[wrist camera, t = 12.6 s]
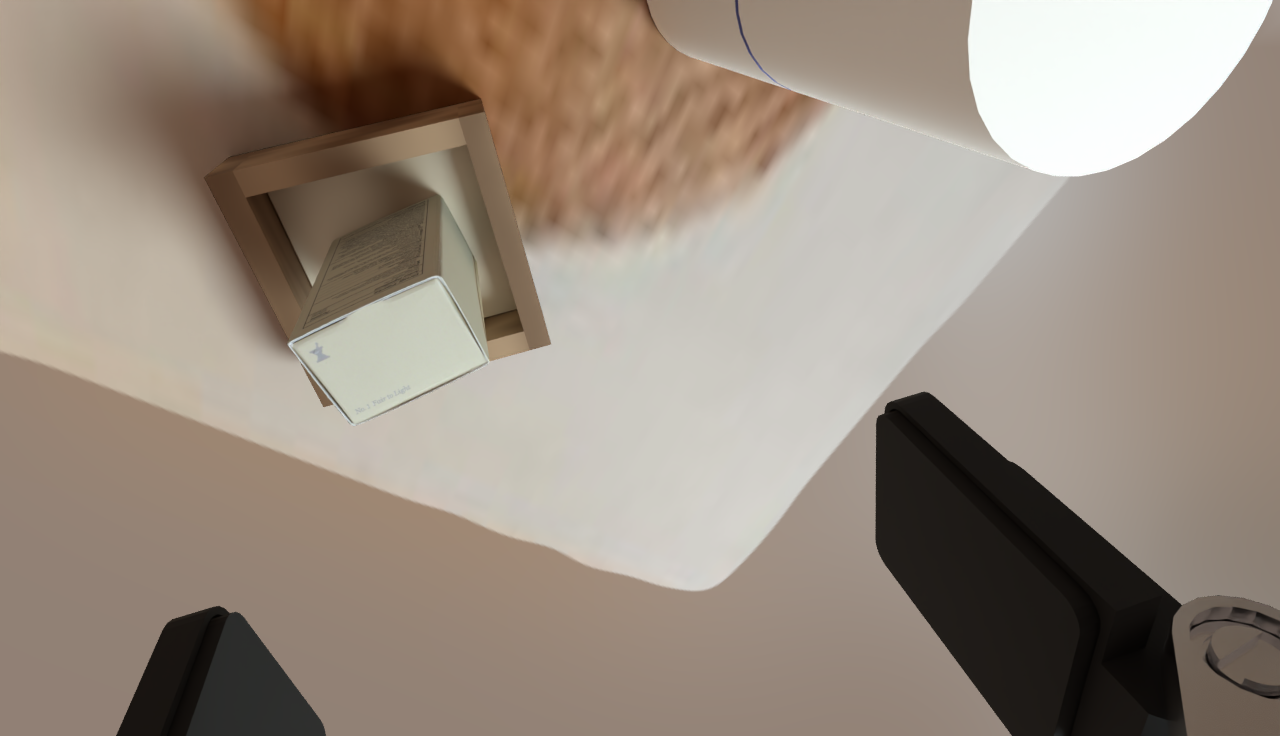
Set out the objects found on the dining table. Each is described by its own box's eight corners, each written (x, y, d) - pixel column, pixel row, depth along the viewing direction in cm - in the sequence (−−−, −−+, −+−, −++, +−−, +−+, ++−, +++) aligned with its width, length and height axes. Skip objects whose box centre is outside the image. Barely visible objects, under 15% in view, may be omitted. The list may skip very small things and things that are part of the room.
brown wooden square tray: (481, 98, 34) (484, 111, 31) (542, 314, 41) (550, 344, 38) (229, 157, 33) (204, 177, 30) (334, 370, 40) (323, 407, 36)
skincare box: (376, 308, 37) (348, 434, 27) (328, 236, 35) (278, 345, 25) (482, 260, 37) (494, 368, 27) (442, 186, 35) (439, 273, 25)
